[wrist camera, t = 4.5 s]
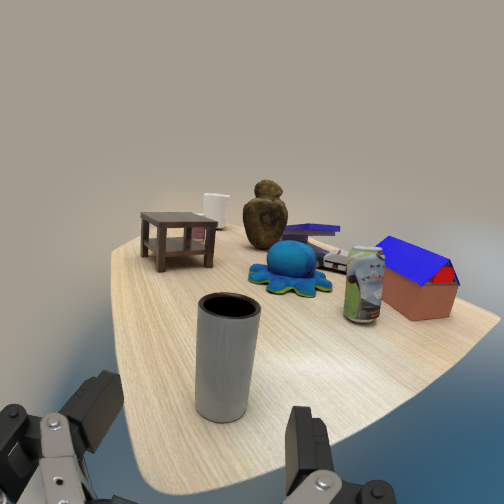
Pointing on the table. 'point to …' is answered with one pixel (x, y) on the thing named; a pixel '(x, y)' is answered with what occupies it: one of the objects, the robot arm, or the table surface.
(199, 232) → the pill bottle
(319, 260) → the toy car
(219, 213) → the cup
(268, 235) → the sculpture
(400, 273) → the house
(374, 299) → the beverage can
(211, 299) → the planter
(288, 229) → the stapler
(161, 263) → the plant stand
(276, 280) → the plush toy
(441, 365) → the table surface
